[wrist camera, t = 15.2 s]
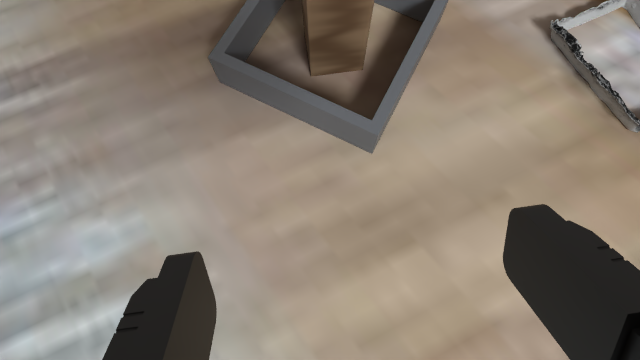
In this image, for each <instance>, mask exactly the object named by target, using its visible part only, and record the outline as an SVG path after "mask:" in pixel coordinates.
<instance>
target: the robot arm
mask: <svg viewBox="0 0 640 360" xmlns="http://www.w3.org/2000/svg"><path fill="white" fill-rule="evenodd" d="M503 263H504V268H505V271H506V273H507V276H508V277H509V279H510V280H511V282H512V283H513V284H514V286H515V287H516V288H517V290H518V291H519V292H520V294H521V295H522V296H523V298H524V299H525V300H526V302H527V303H528V304H529V306H530V307H531V308H532V310H533V311H534V312H535V314H536V315H537V316H538V318H539V319H540V320H541V322H542V323H543V324H544V326H545V327H546V328H547V329H548V331H549V332H550V333H551V335H552V336H553V337H554V339H555V340H556V341H557V343H558V344H559V345H560V347H561V348H562V349H563V351H564V352H565V353H566V355H567V356H568V357H569V359H570V360H640V270H638V269H637V268H636V267H635V266H634V265H632V264H631V263H630V262H629V261H628V260H627V261H625V260H624V257H623V256H621V255H620V254H619V253H618V252H617V251H615V250H614V249H613V248H612V249H610V247H609V245H608V244H607V243H606V242H604V241H603V240H602V239H601V238H600V237H598V236H597V235H596V234H595V233H593V232H592V231H590V230H588V229H586V228H584V227H582V226H580V225H578V224H576V223H574V222H572V221H565V220H564V219H563V218H562V217H561V216H559V215H558V214H557V213H556V212H555V211H554V210H553V209H551V208H550V207H549V206H547V205H544V204H541V205H534V206H527V207H520V208H514V209H512V210H511V212H510V214H509V220H508V226H507V233H506V239H505V246H504V252H503ZM123 315H124V317H123V318H121V320H120V322H119V325H118V327H117V329H116V333H115V334H114V335H113V338H112V340H111V342H110V344H109V346H108V348H107V351H106V353H105V355H104V357H103V359H102V360H209V356H210V351H211V345H212V340H213V334H214V329H215V323H216V301H215V296H214V292H213V289H212V286H211V283H210V280H209V277H208V273H207V270H206V267H205V264H204V261H203V258H202V255H201V254H200V252H191V253H183V254H176V255H169V256H167V257H166V259H165V261H164V264H163V266H162V269H161V271H160V274H159V276H158V278H152V279H147V280H146V281H145V282H144V283H143V284H142V285H141V286H140V288H139V289H138V290H137V291H136V292H135V293H134V294H133V295H132V296H131V298H130V301H129V303H128V305H127V307H126V309H125V311H124V314H123Z"/></svg>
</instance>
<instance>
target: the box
mask: <svg viewBox="0 0 640 360" xmlns="http://www.w3.org/2000/svg"><path fill="white" fill-rule="evenodd" d="M284 2H285V0H247V1H246V3H245V4H244V6H243V7H242V9H241V10H240V11H239V13H238V14H237V16H236V17H235V19H234V20H233V22H232V23H231V24H230V26H229V27H228V29H227V30H226V32H225V33H224V35H223V36H222V37H221V39H220V40H219V42H218V43H217V45H216V46H215V48H214V49H213V51H212V52H211V53H210V55H209V56H208V58H209V61H210V63H211V65H212V67H213V69H214V71H215V73H216V75H217V77H218V79H219V81H220V82H221V83H223V84H225V85H227V86H229V87H231V88H234V89H236V90H238V91H240V92H242V93H244V94H246V95H248V96H251V97H253V98H255V99H257V100H259V101H261V102H263V103H265V104H268V105H270V106H272V107H274V108H276V109H278V110H280V111H282V112H285V113H287V114H289V115H291V116H293V117H295V118H297V119H299V120H302V121H304V122H306V123H308V124H310V125H312V126H314V127H316V128H319V129H321V130H323V131H325V132H327V133H329V134H331V135H333V136H336V137H338V138H340V139H342V140H344V141H346V142H348V143H350V144H353V145H355V146H357V147H359V148H361V149H363V150H365V151H367V152H370V153H373V151H374V149H375V147H376V145H377V143H378V141H379V139H380V137H381V135H382V133H383V131H384V129H385V127H386V125H387V124H388V122H389V120H390V118H391V116H392V114H393V112H394V110H395V108H396V106H397V104H398V102H399V100H400V98H401V96H402V94H403V92H404V90H405V88H406V86H407V84H408V82H409V80H410V78H411V76H412V74H413V73H414V71H415V69H416V67H417V65H418V63H419V61H420V59H421V57H422V55H423V53H424V51H425V49H426V47H427V45H428V43H429V41H430V39H431V37H432V35H433V33H434V31H435V29H436V27H437V25H438V23H439V22H440V19H441V17H442V15H443V12H444V10H445V7H446V5H447V3H448V0H374V2H375V3H377V4H380V5H382V6H384V7H387V8H389V9H392V10H394V11H397V12H399V13H402V14H404V15H406V16H409V17H411V18H414V19H416V20H419V21H421V22H423V24H422V26H421V28H420V30H419V32H418V33H417V35H416V37H415V39H414V41H413V43H412V45H411V47H410V49H409V51H408V53H407V54H406V56H405V58H404V60H403V62H402V64H401V66H400V68H399V70H398V72H397V74H396V75H395V77H394V79H393V81H392V83H391V85H390V87H389V89H388V91H387V93H386V95H385V97H384V98H383V100H382V102H381V104H380V106H379V108H378V110H377V112H376V114H375V116H374V118H373V119H372V120H370V119H368V118H366V117H363V116H361V115H359V114H357V113H355V112H352V111H350V110H348V109H346V108H344V107H341V106H339V105H337V104H335V103H333V102H331V101H328V100H326V99H324V98H322V97H320V96H317V95H315V94H313V93H311V92H309V91H306V90H304V89H302V88H300V87H298V86H296V85H293V84H291V83H289V82H287V81H285V80H282V79H280V78H278V77H276V76H274V75H271V74H269V73H267V72H265V71H263V70H261V69H258V68H256V67H254V66H252V65H250V64H247V63H245V61H246V59H247V58H248V56H249V55H250V53H251V52H252V50H253V49H254V47H255V46H256V44H257V43H258V41H259V40H260V38H261V37H262V35H263V33H264V32H265V30H266V29H267V27H268V26H269V24H270V23H271V21H272V20H273V18H274V17H275V15H276V14H277V12H278V11H279V9H280V8H281V6H282V5H283V3H284Z"/></svg>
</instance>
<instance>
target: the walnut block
mask: <svg viewBox="0 0 640 360" xmlns="http://www.w3.org/2000/svg"><path fill="white" fill-rule="evenodd" d="M373 5H374V0H302V8H303V22H304V34H305V40H306V47H307V53H308V60H309V66H310V73H311V76H318V75H326V74H334V73H341V72H349V71H356V70H363V65H364V59H365V53H366V47H367V41H368V35H369V29H370V23H371V17H372V11H373Z"/></svg>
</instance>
